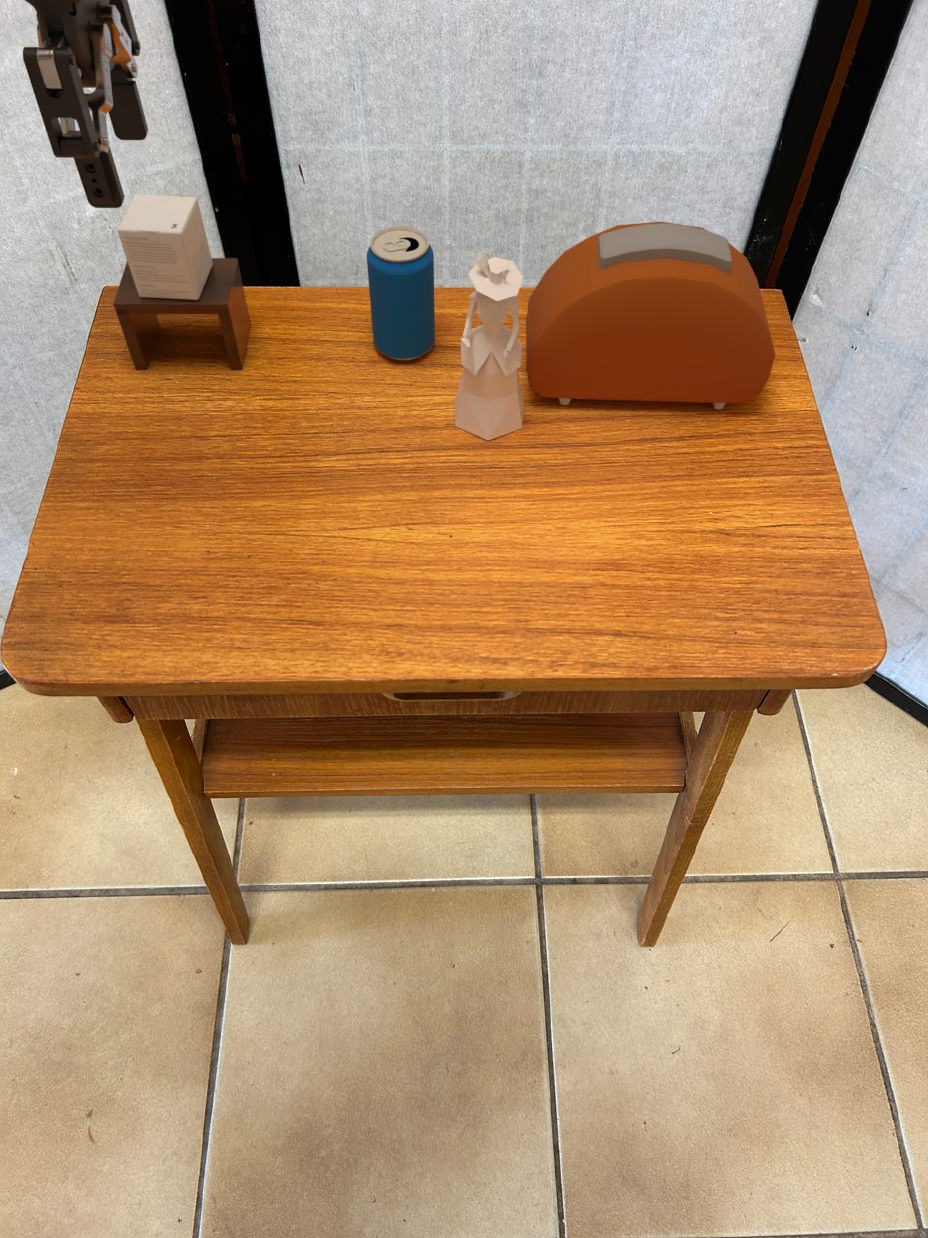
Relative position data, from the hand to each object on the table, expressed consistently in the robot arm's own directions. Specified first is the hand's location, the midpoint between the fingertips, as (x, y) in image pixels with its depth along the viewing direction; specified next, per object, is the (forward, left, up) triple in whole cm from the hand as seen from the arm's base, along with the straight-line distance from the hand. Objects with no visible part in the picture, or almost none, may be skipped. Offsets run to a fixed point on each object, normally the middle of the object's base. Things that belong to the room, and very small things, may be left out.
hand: (121, 169), depth 64 cm
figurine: (+22, -17, -30) cm, 41 cm away
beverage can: (+26, -4, -30) cm, 40 cm away
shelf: (+14, +14, -30) cm, 36 cm away
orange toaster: (+34, -27, -30) cm, 53 cm away
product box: (+14, +14, -22) cm, 30 cm away
